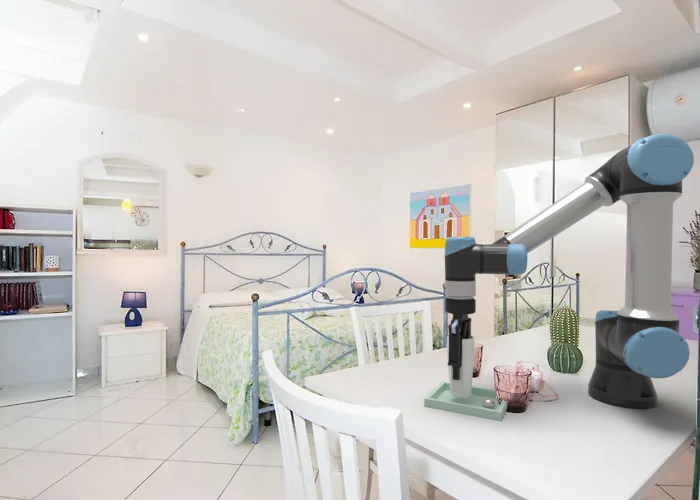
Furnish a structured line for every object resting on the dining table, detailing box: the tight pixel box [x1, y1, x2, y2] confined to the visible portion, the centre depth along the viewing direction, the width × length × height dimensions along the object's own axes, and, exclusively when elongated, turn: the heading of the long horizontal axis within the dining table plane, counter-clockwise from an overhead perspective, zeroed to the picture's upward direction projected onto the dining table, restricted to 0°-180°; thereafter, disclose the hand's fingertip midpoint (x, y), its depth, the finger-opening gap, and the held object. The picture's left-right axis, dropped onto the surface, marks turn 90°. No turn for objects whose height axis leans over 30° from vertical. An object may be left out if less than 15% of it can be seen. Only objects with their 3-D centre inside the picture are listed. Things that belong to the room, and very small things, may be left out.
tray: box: [423, 380, 508, 422], centre depth 103 cm, size 18×15×2 cm
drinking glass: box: [446, 334, 475, 398], centre depth 104 cm, size 7×7×15 cm
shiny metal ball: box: [481, 398, 495, 410], centre depth 97 cm, size 3×3×3 cm
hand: (460, 387), depth 104 cm, fingers closed on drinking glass, 6 cm apart
